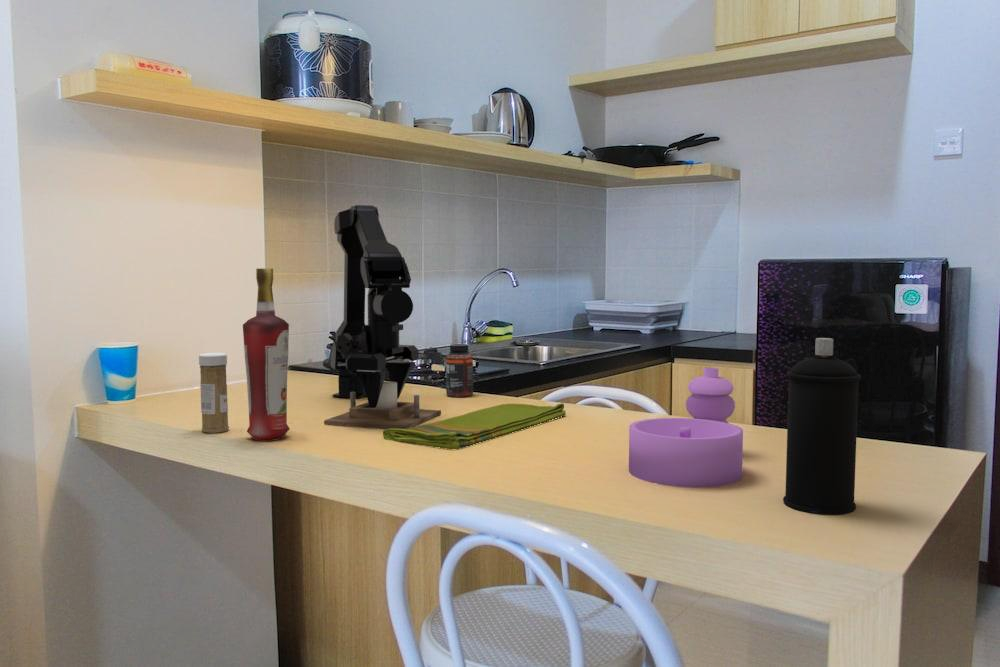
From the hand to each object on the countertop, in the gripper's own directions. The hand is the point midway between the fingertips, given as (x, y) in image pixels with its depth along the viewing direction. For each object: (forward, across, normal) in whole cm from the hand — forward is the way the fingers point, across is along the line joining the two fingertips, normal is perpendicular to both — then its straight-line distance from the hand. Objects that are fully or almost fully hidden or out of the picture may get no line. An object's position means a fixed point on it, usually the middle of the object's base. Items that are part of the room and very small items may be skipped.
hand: (384, 403), depth 156 cm
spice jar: (+3, +19, -23) cm, 30 cm away
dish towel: (+4, +1, +19) cm, 20 cm away
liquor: (+3, +21, -11) cm, 24 cm away
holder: (+3, 0, 0) cm, 3 cm away
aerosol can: (+3, +34, +74) cm, 82 cm away
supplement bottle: (+3, -31, +3) cm, 31 cm away
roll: (+2, 0, 0) cm, 2 cm away
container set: (+3, +18, +58) cm, 61 cm away
